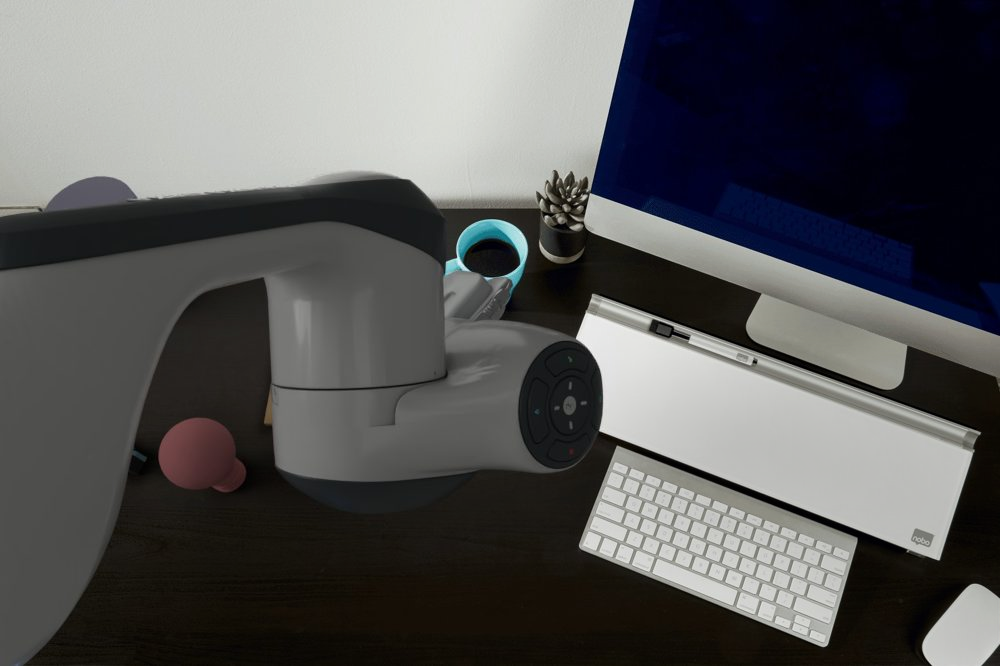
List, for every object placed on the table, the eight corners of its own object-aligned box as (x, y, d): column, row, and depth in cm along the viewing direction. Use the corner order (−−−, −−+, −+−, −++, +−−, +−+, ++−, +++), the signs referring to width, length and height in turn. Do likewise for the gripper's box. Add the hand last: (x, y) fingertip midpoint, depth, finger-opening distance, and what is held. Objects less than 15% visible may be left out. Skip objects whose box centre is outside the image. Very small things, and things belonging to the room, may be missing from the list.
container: (187, 316, 90) (126, 248, 77) (105, 323, 90) (30, 257, 77) (198, 247, 95) (141, 172, 82) (120, 254, 95) (51, 180, 82)
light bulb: (190, 464, 81) (137, 427, 71) (250, 435, 82) (207, 395, 72) (208, 521, 78) (155, 491, 68) (270, 490, 79) (228, 456, 69)
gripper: (497, 247, 55) (418, 256, 66) (307, 459, 48) (256, 427, 59) (545, 307, 57) (460, 306, 69) (371, 516, 50) (310, 475, 62)
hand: (365, 363), depth 64 cm, fingers open, 8 cm apart
